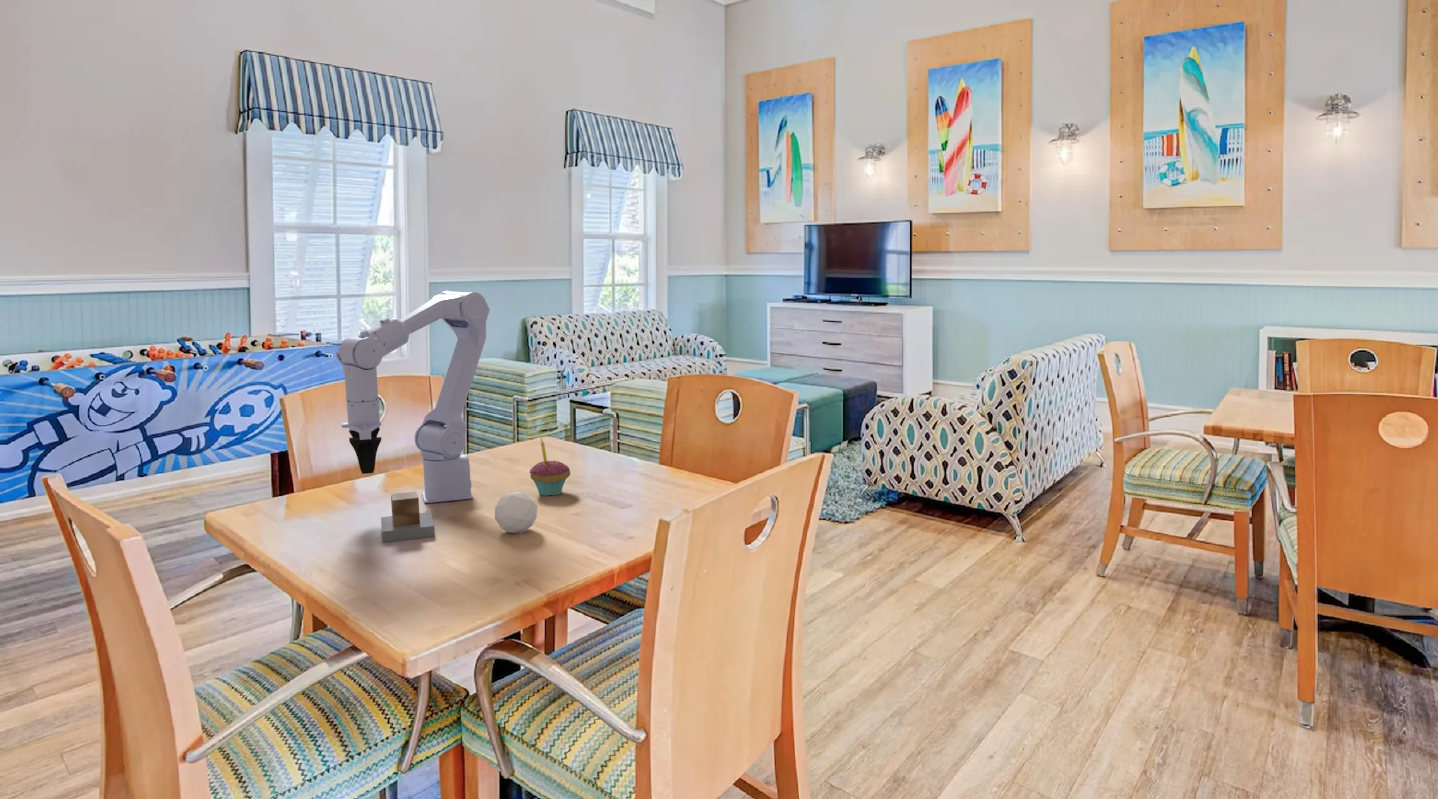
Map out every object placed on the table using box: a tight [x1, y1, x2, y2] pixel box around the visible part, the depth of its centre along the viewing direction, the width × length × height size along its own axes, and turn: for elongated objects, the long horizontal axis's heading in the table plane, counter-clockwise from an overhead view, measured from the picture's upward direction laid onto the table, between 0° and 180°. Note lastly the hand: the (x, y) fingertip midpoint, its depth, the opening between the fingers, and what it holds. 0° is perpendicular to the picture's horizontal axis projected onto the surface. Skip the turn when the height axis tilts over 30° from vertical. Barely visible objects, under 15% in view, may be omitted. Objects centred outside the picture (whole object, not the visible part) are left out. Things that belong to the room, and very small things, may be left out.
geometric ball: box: [494, 491, 538, 534], centre depth 161 cm, size 8×8×8 cm
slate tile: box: [380, 511, 436, 543], centre depth 160 cm, size 9×9×2 cm
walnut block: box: [390, 491, 420, 527], centre depth 160 cm, size 4×4×5 cm
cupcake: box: [529, 438, 571, 497], centre depth 185 cm, size 9×8×12 cm
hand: (367, 468), depth 167 cm, fingers open, 7 cm apart
